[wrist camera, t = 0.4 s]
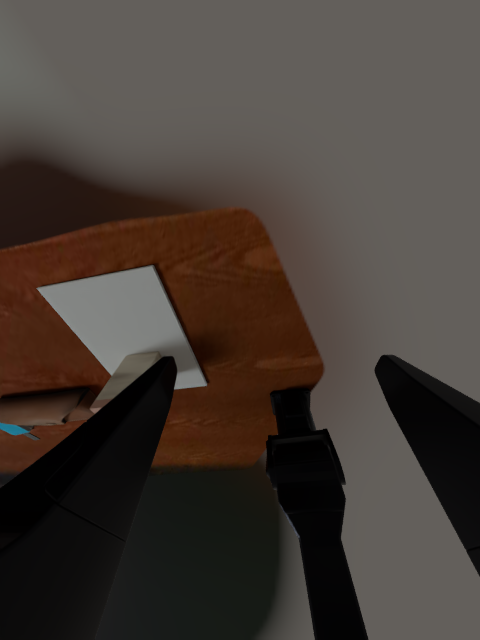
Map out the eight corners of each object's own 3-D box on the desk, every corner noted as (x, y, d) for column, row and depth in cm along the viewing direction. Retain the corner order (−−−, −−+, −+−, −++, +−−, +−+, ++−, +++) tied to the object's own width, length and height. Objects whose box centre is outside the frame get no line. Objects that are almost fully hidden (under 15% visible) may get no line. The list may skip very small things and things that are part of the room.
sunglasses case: (34, 421, 39) (-12, 444, 33) (26, 387, 39) (-22, 404, 32) (114, 413, 37) (83, 436, 30) (107, 377, 37) (74, 393, 30)
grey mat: (207, 383, 32) (206, 385, 31) (128, 392, 33) (127, 394, 33) (153, 264, 20) (152, 266, 20) (39, 286, 22) (36, 288, 22)
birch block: (172, 374, 30) (152, 428, 23) (142, 378, 30) (114, 431, 24) (158, 351, 27) (131, 404, 20) (125, 355, 28) (89, 408, 21)
